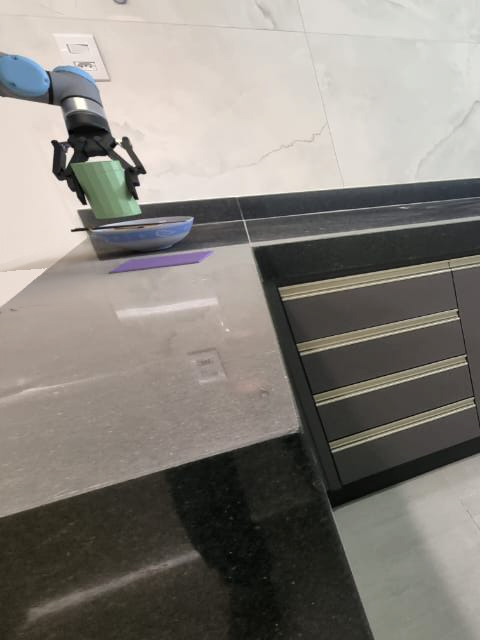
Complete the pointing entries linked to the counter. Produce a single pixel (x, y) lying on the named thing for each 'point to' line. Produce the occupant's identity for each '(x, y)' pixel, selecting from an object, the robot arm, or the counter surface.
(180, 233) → the ramen bowl
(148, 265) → the towel
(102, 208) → the green faceted cylinder
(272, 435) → the counter surface
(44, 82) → the robot arm
